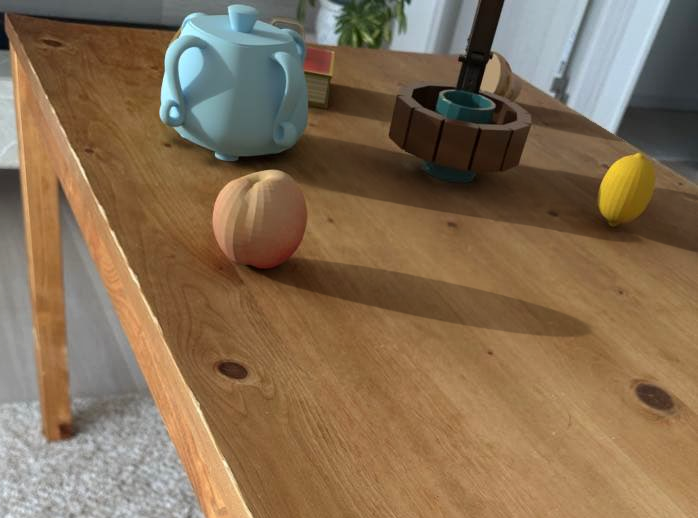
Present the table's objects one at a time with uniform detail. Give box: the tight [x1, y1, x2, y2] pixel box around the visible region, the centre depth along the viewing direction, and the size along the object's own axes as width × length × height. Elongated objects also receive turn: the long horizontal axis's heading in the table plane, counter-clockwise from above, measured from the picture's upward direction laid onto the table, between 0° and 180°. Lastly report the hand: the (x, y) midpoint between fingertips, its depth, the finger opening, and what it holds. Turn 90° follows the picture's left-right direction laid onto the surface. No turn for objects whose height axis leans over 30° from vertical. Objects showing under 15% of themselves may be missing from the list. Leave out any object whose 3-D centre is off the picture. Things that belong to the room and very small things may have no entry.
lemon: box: [597, 152, 656, 227], centre depth 95 cm, size 6×6×8 cm
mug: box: [480, 50, 523, 102], centre depth 123 cm, size 8×10×10 cm
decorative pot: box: [159, 4, 309, 162], centre depth 95 cm, size 16×16×14 cm
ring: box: [388, 80, 532, 173], centre depth 100 cm, size 15×15×4 cm
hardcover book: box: [166, 24, 336, 109], centre depth 116 cm, size 12×21×4 cm, turn 86°
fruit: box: [212, 169, 309, 270], centre depth 76 cm, size 8×8×8 cm
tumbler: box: [421, 90, 495, 183], centre depth 100 cm, size 6×6×8 cm
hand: (459, 119), depth 105 cm, fingers closed on ring, 2 cm apart
